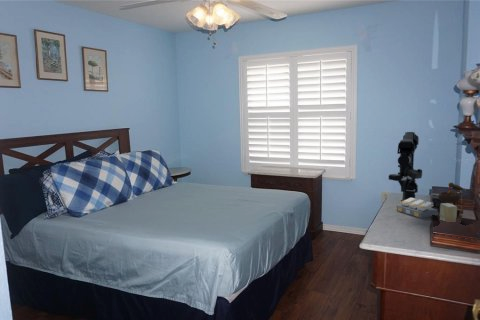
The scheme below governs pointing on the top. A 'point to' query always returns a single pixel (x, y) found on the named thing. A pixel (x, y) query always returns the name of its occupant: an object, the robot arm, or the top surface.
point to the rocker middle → (416, 203)
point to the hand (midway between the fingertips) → (404, 191)
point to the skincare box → (448, 212)
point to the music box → (452, 198)
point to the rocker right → (424, 206)
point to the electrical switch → (436, 201)
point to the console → (416, 211)
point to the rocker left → (408, 201)
